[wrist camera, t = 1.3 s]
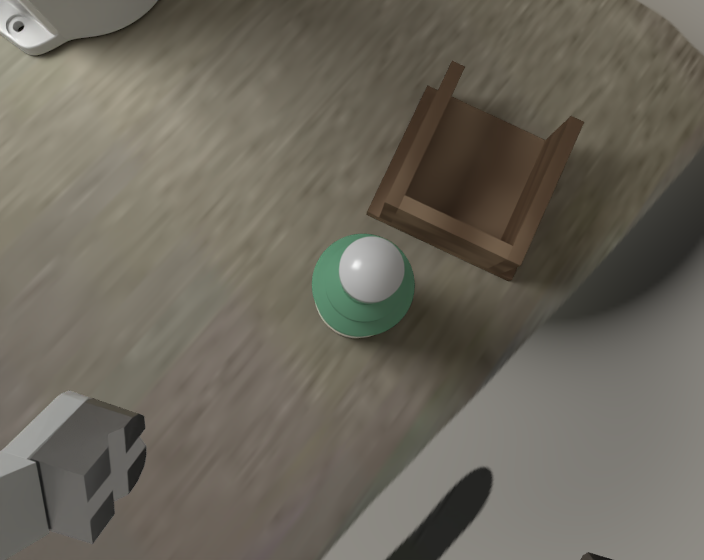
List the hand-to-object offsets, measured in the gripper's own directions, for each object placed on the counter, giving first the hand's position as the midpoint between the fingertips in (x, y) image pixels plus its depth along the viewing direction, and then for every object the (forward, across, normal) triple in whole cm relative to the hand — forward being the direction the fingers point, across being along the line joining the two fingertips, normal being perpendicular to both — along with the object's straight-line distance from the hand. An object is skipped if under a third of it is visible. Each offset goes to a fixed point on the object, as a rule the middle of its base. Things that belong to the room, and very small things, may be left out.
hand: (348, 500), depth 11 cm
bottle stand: (+38, -1, +8) cm, 39 cm away
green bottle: (+30, +5, +16) cm, 35 cm away
